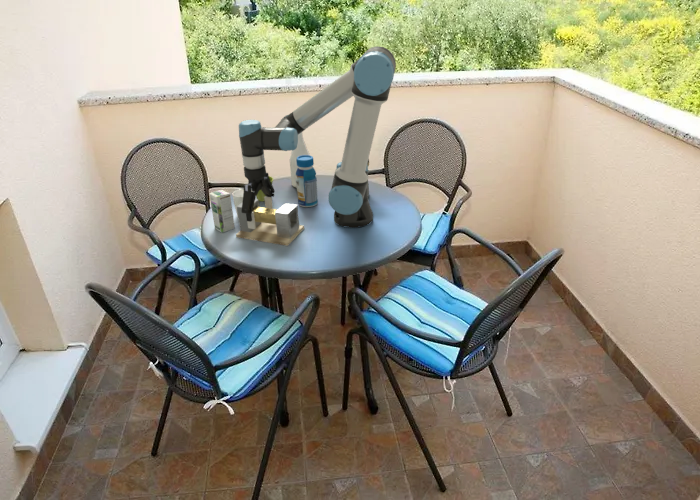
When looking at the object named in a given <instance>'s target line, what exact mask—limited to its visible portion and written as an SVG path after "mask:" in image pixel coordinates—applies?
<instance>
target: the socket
mask: <svg viewBox="0 0 700 500" xmlns="http://www.w3.org/2000/svg"><path fill="white" fill-rule="evenodd" d="M255 206H256V207H260V201H259V200H258V199H257V198H255V202H254V206H253V208H254V207H255ZM241 211H242V203H241V204H240V205H238V206H237V212H238V217H237V219H238V225H239V231H245V232H252V231H253V230H254V229H250V228H248V223H247V218H246V213H242V212H241ZM237 212H236V213H237ZM260 224H261V222H256V221H255V226H256V227H258V226H259V225H260Z"/></svg>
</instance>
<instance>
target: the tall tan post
mask: <svg viewBox="0 0 700 500" xmlns="http://www.w3.org/2000/svg"><path fill="white" fill-rule="evenodd" d="M277 210H278V209H276V208H273V209H270V208H266V207H261V206H259V207H256V206H255V207H254V208H253V210H252V212H254V218H255V221H256V222H263V223H269V224H276V218H275V212H276V211H277Z"/></svg>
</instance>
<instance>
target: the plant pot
mask: <svg viewBox="0 0 700 500" xmlns="http://www.w3.org/2000/svg"><path fill="white" fill-rule="evenodd" d="M269 179H270V181H271V184H272V185H273V181H274V177H272V176H270V175H269ZM265 196H266V195H265V194H264V193H263V192H262V191H261V190H259V192H258V194H257V195H256V197H255V198H256V199H258V200H259V202H265V199H264V197H265Z"/></svg>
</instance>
